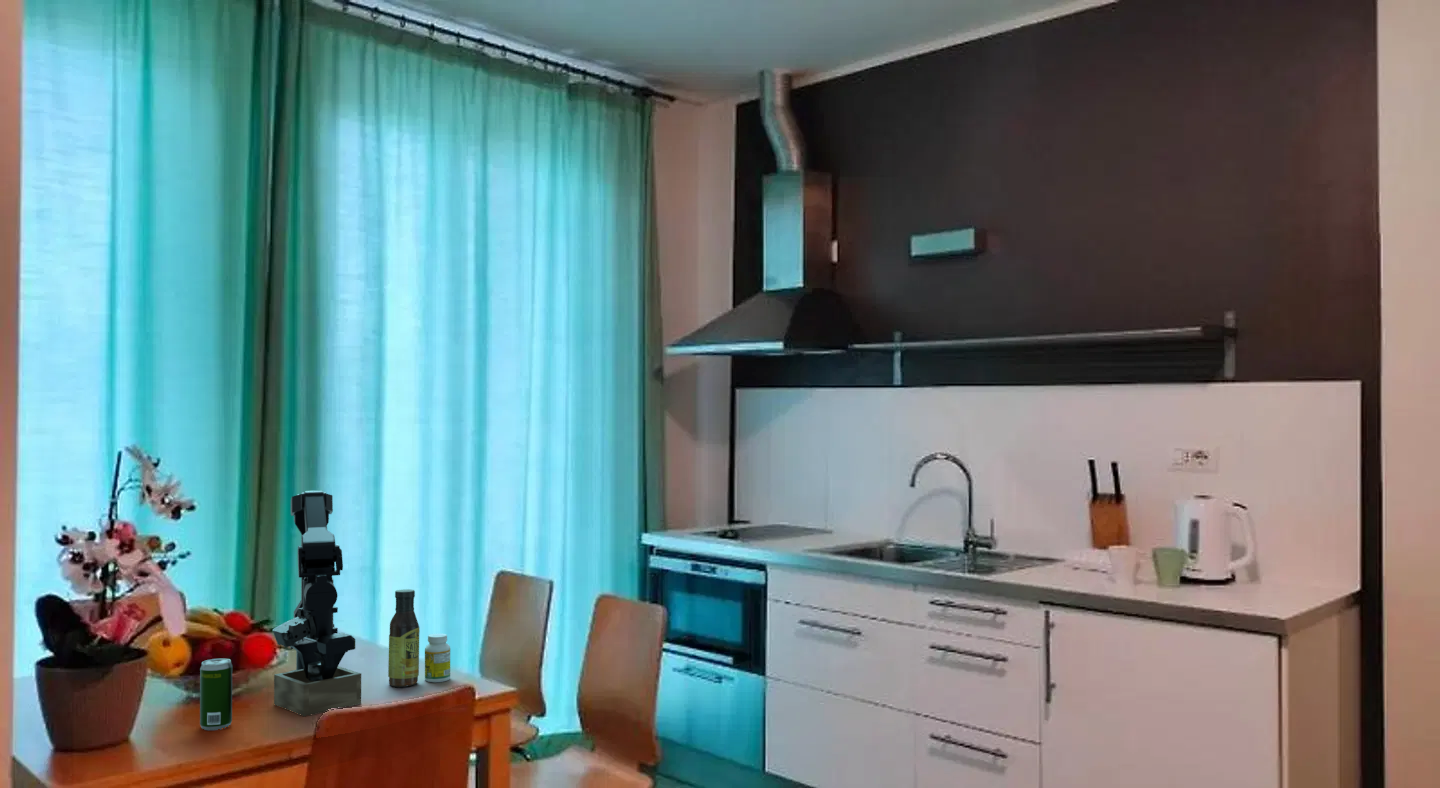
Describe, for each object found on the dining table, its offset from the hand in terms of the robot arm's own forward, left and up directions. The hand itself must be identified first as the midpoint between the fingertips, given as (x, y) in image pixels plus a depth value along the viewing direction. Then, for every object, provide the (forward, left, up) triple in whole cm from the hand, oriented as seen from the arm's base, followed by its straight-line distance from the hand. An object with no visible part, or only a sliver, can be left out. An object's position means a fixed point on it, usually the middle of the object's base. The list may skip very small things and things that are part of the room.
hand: (317, 681), depth 218 cm
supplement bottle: (+1, +27, -5) cm, 27 cm away
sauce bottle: (-1, +20, -5) cm, 21 cm away
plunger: (0, 0, -3) cm, 3 cm away
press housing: (0, 0, -4) cm, 4 cm away
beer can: (0, -20, -5) cm, 21 cm away
